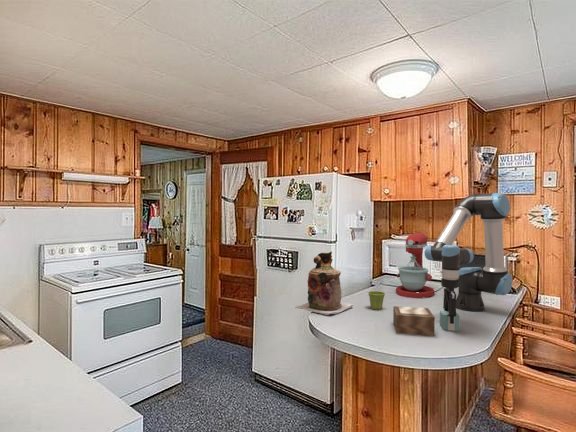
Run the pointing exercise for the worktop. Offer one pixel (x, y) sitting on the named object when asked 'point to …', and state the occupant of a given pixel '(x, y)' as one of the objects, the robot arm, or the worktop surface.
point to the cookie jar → (324, 288)
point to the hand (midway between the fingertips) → (449, 327)
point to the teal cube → (445, 320)
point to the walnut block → (413, 320)
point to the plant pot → (376, 299)
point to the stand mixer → (414, 270)
